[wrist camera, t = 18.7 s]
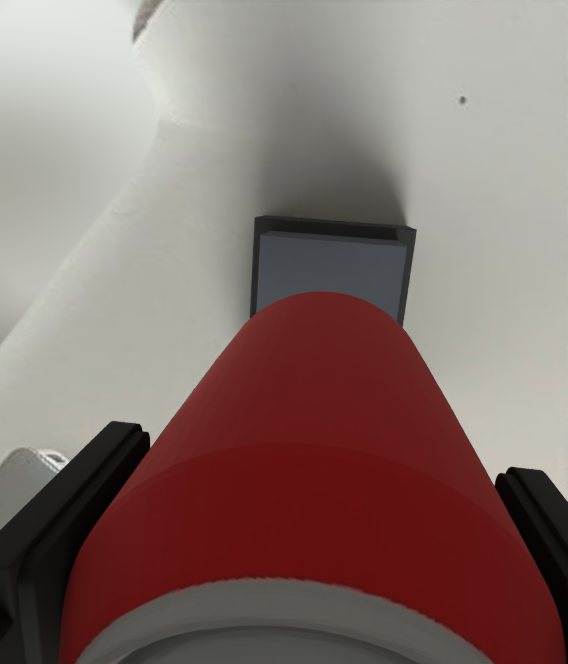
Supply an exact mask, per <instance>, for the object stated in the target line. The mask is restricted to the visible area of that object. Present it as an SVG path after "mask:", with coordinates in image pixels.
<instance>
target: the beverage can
mask: <svg viewBox="0 0 568 664" xmlns="http://www.w3.org/2000/svg"><path fill="white" fill-rule="evenodd" d="M58 664H567V659H566V648H565V640H564V634H563V629H562V624H561V620H560V617H559V614H558V610H557V607H556V604H555V602H554V599H553V597H552V595H551V593H550V590H549V588H548V586H547V584H546V582H545V580H544V578H543V576H542V574H541V573H540V571H539V569H538V567H537V565H536V563H535V561H534V560H533V558H532V556H531V554H530V552H529V550H528V548H527V546H526V545H525V543H524V541H523V539H522V537H521V535H520V533H519V532H518V530H517V528H516V526H515V524H514V522H513V520H512V518H511V517H510V515H509V513H508V511H507V509H506V507H505V505H504V503H503V502H502V500H501V498H500V496H499V494H498V492H497V490H496V489H495V487H494V485H493V483H492V481H491V479H490V477H489V476H488V474H487V472H486V470H485V468H484V466H483V465H482V463H481V461H480V459H479V457H478V456H477V454H476V452H475V450H474V448H473V447H472V445H471V443H470V441H469V439H468V438H467V436H466V434H465V432H464V430H463V428H462V427H461V425H460V423H459V421H458V419H457V418H456V416H455V414H454V412H453V410H452V409H451V407H450V405H449V403H448V402H447V400H446V398H445V396H444V395H443V393H442V391H441V389H440V388H439V386H438V384H437V382H436V381H435V379H434V377H433V375H432V374H431V372H430V370H429V368H428V367H427V365H426V363H425V362H424V360H423V358H422V357H421V355H420V353H419V352H418V350H417V348H416V347H415V345H414V343H413V342H412V340H411V339H410V337H409V336H408V334H407V333H406V331H405V330H404V329H403V328H402V327H401V326H400V325H399V324H398V323H397V322H396V321H395V320H394V319H393V318H392V317H391V316H390V315H388V314H387V313H386V312H385V311H383V310H382V309H380V308H379V307H377V306H375V305H373V304H371V303H369V302H367V301H365V300H363V299H360V298H357V297H354V296H351V295H347V294H343V293H337V292H326V291H315V292H306V293H300V294H296V295H292V296H288V297H286V298H283V299H280V300H278V301H276V302H274V303H272V304H270V305H268V306H267V307H265V308H263V309H262V310H260V311H259V312H258V313H256V314H255V315H254V316H253V317H252V318H251V319H250V320H249V321H248V322H247V323H246V324H245V325H244V326H243V327H242V328H241V330H240V331H239V332H238V333H237V335H236V336H235V337H234V338H233V340H232V341H231V342H230V343H229V345H228V346H227V347H226V348H225V350H224V351H223V352H222V353H221V355H220V356H219V357H218V358H217V360H216V361H215V362H214V364H213V365H212V366H211V368H210V369H209V370H208V372H207V373H206V374H205V376H204V377H203V378H202V380H201V381H200V382H199V384H198V385H197V386H196V388H195V389H194V390H193V392H192V393H191V394H190V396H189V397H188V398H187V400H186V401H185V402H184V404H183V405H182V406H181V408H180V409H179V410H178V412H177V413H176V414H175V416H174V417H173V418H172V420H171V421H170V422H169V424H168V425H167V426H166V428H165V429H164V430H163V432H162V433H161V434H160V436H159V437H158V439H157V440H156V441H155V443H154V444H153V446H152V447H151V448H150V450H149V451H148V452H147V454H146V455H145V457H144V458H143V459H142V461H141V462H140V464H139V465H138V466H137V468H136V469H135V470H134V472H133V473H132V475H131V476H130V477H129V479H128V480H127V482H126V483H125V484H124V486H123V487H122V489H121V490H120V491H119V493H118V494H117V495H116V497H115V498H114V500H113V501H112V502H111V504H110V505H109V507H108V508H107V509H106V511H105V512H104V513H103V515H102V516H101V518H100V519H99V520H98V522H97V523H96V525H95V526H94V527H93V529H92V530H91V532H90V533H89V535H88V537H87V538H86V540H85V541H84V543H83V545H82V547H81V549H80V551H79V553H78V555H77V557H76V559H75V562H74V565H73V567H72V570H71V573H70V576H69V580H68V584H67V589H66V593H65V597H64V602H63V610H62V620H61V634H60V649H59V663H58Z"/></svg>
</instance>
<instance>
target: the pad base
mask: <svg viewBox="0 0 568 664" xmlns="http://www.w3.org/2000/svg"><path fill="white" fill-rule="evenodd" d="M268 231H283V232H296V233H309V234H322V235H334V236H347V237H360V238H373V239H386V240H398V241H399V242H401V243H402V244H404V245H406V246H407V251H406V259H405V266H404V273H403V280H402V287H401V294H400V301H399V308H398V315H397V323H398V324H399V325H400V326H401V327H403V320H404V314H405V307H406V300H407V293H408V286H409V279H410V272H411V266H412V259H413V252H414V245H415V238H416V231H417V230H416V229H413V228H410V227H408V226H397V225H383V224H370V223H357V222H344V221H330V220H317V219H304V218H291V217H277V216H260V217H255V225H254V245H253V265H252V285H251V305H250V319H251V318H252V317H253V316H254V315H255V314H256V310H257V291H258V272H259V254H260V236H261V235H262V234H264V233H266V232H268Z"/></svg>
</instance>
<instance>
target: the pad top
mask: <svg viewBox="0 0 568 664" xmlns="http://www.w3.org/2000/svg"><path fill="white" fill-rule="evenodd" d="M406 251H407V246H406V245H404V244H402V243H401V242H399V241H398V240H386V239H373V238H360V237H347V236H334V235H322V234H309V233H296V232H283V231H268V232H266V233H264V234H262V235H261V236H260V254H259V272H258V291H257V310H256V313H258V312H259V311H260V310H262V309H263V308H265V307H267V306H268V305H270V304H272V303H274V302H276V301H278V300H280V299H283V298H286V297H288V296H292V295H296V294H300V293H306V292H315V291H326V292H337V293H343V294H347V295H351V296H354V297H357V298H360V299H363V300H365V301H367V302H369V303H371V304H373V305H375V306H377V307H379V308H380V309H382V310H383V311H385V312H386V313H387V314H388V315H390V316H391V317H392V318H393V319H394V320H395V321H396V322H397V315H398V308H399V301H400V294H401V287H402V280H403V273H404V266H405V259H406Z"/></svg>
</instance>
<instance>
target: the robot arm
mask: <svg viewBox="0 0 568 664" xmlns="http://www.w3.org/2000/svg"><path fill="white" fill-rule="evenodd" d="M149 450H150V436H149V433H148V432H143V431H142V427H141V425H140V424H135V423H126V422H118V421H112V422H110V423H109V424H108V425H107V426H106V427H105V428H104V429H103V430H102V431H101V432H100V433H99V434H98V435H97V436H96V437H95V438H94V439H93V440H92V441H91V442H89V443H88V444H87V445H86V446H85V447H84V448H83V449H82V450H81V451H80V452H79V453H78V454H77V455H76V456H75V457H74V458H73V459H72V460H71V461H70V462H69V463H68V464H67V465H66V466H65V467H64V468H63V469H62V470H61V471H60V472H59V473H58V474H57V475H56V476H55V477H54V478H53V479H52V480H51V481H50V482H49V483H48V484H47V485H46V486H45V487H44V488H43V489H42V490H41V491H40V492H39V493H38V494H37V495H36V496H35V497H34V498H33V499H32V500H31V501H30V502H29V503H28V504H27V505H25V506H24V507H23V508H22V509H21V510H20V511H19V512H18V513H17V514H16V515H15V516H14V517H13V518H12V519H11V520H10V521H9V522H8V523H7V524H6V525H5V526H4V527H3V528H2V529H1V530H0V664H58V663H59V649H60V634H61V620H62V610H63V602H64V597H65V593H66V589H67V584H68V580H69V576H70V573H71V570H72V567H73V565H74V562H75V559H76V557H77V555H78V553H79V551H80V549H81V547H82V545H83V543H84V541H85V540H86V538H87V537H88V535H89V533H90V532H91V530H92V529H93V527H94V526H95V525H96V523H97V522H98V520H99V519H100V518H101V516H102V515H103V513H104V512H105V511H106V509H107V508H108V507H109V505H110V504H111V502H112V501H113V500H114V498H115V497H116V495H117V494H118V493H119V491H120V490H121V489H122V487H123V486H124V484H125V483H126V482H127V480H128V479H129V477H130V476H131V475H132V473H133V472H134V470H135V469H136V468H137V466H138V465H139V464H140V462H141V461H142V459H143V458H144V457H145V455H146V454H147V452H148V451H149ZM494 487H495V489H496V490H497V492H498V494H499V496H500V498H501V500H502V502H503V503H504V505H505V507H506V509H507V511H508V513H509V515H510V517H511V518H512V520H513V522H514V524H515V526H516V528H517V530H518V532H519V533H520V535H521V537H522V539H523V541H524V543H525V545H526V546H527V548H528V550H529V552H530V554H531V556H532V558H533V560H534V561H535V563H536V565H537V567H538V569H539V571H540V573H541V574H542V576H543V578H544V580H545V582H546V584H547V586H548V588H549V590H550V593H551V595H552V597H553V599H554V602H555V604H556V607H557V610H558V614H559V617H560V620H561V624H562V629H563V634H564V640H565V648H566V659H567V664H568V502H567V501H566V499H565V498H564V497H563V495H562V494H561V493H560V491H559V490H558V489H557V488H556V486H555V485H554V484H553V482H552V481H551V480H550V479H549V477H548V476H547V475H546V473H544V472H543V471H541V470H534V469H525V468H517V467H510V468H508V470H507V471H506V474H504V473H500V474H498V476H497V478H496V481H495V486H494Z"/></svg>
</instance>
